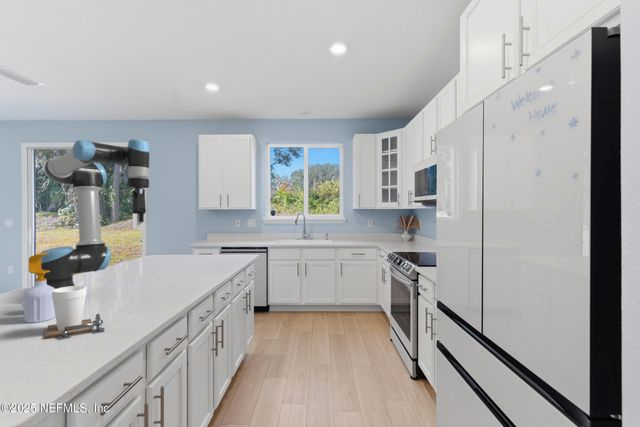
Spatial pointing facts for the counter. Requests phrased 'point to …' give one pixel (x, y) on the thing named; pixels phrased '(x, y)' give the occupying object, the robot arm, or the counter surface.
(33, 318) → the soap bottle
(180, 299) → the counter surface
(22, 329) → the counter surface
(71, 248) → the robot arm
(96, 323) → the rail
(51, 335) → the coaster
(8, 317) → the counter surface
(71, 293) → the foam cup
